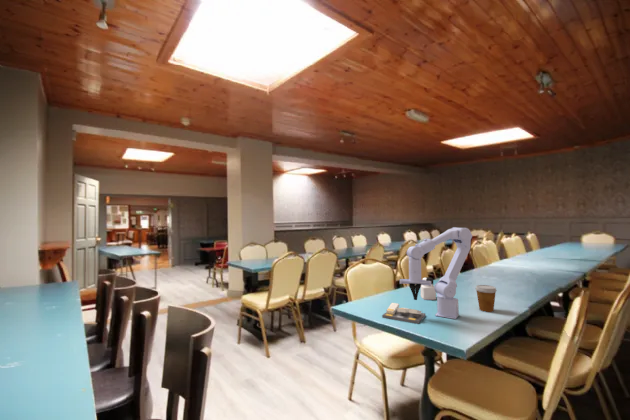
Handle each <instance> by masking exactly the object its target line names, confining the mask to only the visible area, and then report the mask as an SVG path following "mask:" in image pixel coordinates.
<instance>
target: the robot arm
mask: <svg viewBox="0 0 630 420" xmlns="http://www.w3.org/2000/svg"><path fill="white" fill-rule="evenodd" d="M472 238H473V234H472V232H471V230H470V228H468V227H458V226H457V227H456V226H453V227H451V228H448V229H447V230H445V231H444V232H442V233H441V234H439V235H437V236H435V237H434V238H431V239H430V238H424V239H423V240H422V241H421V242H418V243H415V245H412V246H409V247H408V249H407V251H406V252H405V254H406V255H407V257H408V278H406V279H405V278H400V279H399V285H401V284H404V285H405V284H406V285H408V286H409V288H410V291H411V293H412V297H413V300H414V301H417V300H418V295H419V291H421V285H429V286H431V281H426V280H422V259H423V256H424V255H425V254H428V253H429V252H431V251H433V250H435V249H436V246H437V245H440V244H442V243H444V242H446V241H448V240H452V241H453V242H454V244H455V245H456V250H455V252H454V253H453V256H452V258H451V260H450V262H449V265H448V267H447V269H446V271H445V273H444V275H443V276H442V277H439V280H438V281H437V282H436V283H435V284H434V285H433V286H434V289H435V291H436V301H437V302H436V303H437V304H436V305H437V312H436V313H435V314H434V315H435V317H439V318H440V317H441V318H447V319H453V320H456V319H457V318H458V317H459V315H460V314H459V313H460V311H459V299H458V297H457V298H456V297H455V296H456V294H457V287H458V284H457V282H456V280H457V279H458V276H459V274H460V272H461V270H462V267H463V266H464V263H465V261H466V259H467V257H468V254H469V252H470V250H471V248H472V247H471V240H472Z"/></svg>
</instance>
